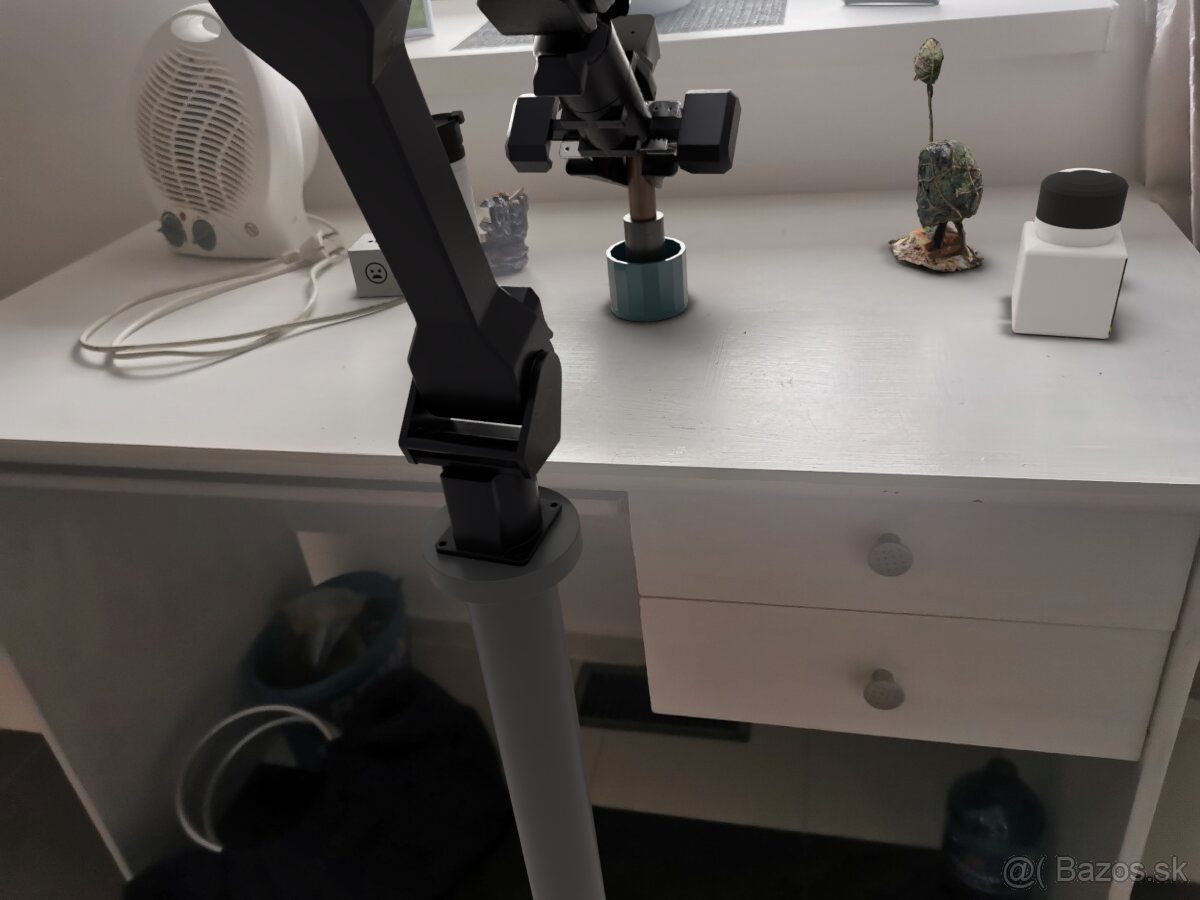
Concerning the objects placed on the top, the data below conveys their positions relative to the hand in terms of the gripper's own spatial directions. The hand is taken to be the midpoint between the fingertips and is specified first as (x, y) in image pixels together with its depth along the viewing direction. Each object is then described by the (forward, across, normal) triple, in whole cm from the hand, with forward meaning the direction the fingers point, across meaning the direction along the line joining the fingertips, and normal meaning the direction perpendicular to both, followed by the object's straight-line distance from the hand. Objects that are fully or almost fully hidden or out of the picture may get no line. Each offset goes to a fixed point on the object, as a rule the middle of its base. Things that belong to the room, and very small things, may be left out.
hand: (646, 183), depth 81 cm
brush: (+4, 0, +6) cm, 7 cm away
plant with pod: (+17, -25, -1) cm, 30 cm away
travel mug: (-1, +14, +17) cm, 22 cm away
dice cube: (+8, +29, +8) cm, 31 cm away
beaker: (+7, 0, +9) cm, 11 cm away
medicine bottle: (+8, -35, +8) cm, 37 cm away
